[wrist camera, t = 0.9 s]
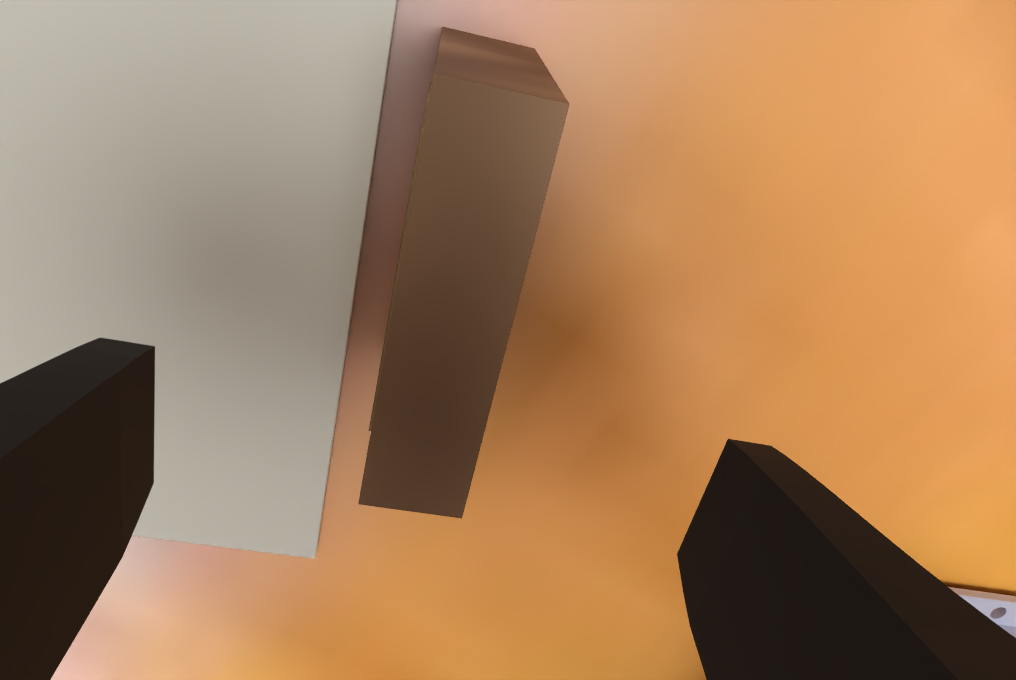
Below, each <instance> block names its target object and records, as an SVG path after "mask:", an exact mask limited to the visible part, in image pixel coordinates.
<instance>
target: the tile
mask: <svg viewBox="0 0 1016 680" xmlns="http://www.w3.org/2000/svg"><path fill="white" fill-rule="evenodd" d="M568 107H569V103H568V101H567V100H566V98H565V97H564V95H563V93H562V92H561V90H560V89H559V87H558V85H557V84H556V82H555V81H554V79H553V77H552V76H551V74H550V73H549V71H548V69H547V68H546V66H545V65H544V63H543V61H542V60H541V58H540V57H539V55H538V53H537V52H536V50H535V49H534V48H529V47H525V46H521V45H517V44H513V43H508V42H504V41H500V40H496V39H492V38H488V37H483V36H479V35H475V34H471V33H467V32H462V31H458V30H454V29H450V28H446V27H443V29H442V34H441V39H440V44H439V49H438V54H437V58H436V63H435V68H434V73H433V79H432V83H430V88H429V92H428V97H427V102H426V107H425V111H424V116H423V121H422V126H421V131H420V137H419V143H418V149H417V154H416V160H415V166H414V172H413V178H412V183H411V189H410V195H409V201H408V207H407V212H406V218H405V224H404V230H403V236H402V241H401V247H400V253H399V259H398V265H397V270H396V276H395V282H394V288H393V294H392V299H391V305H390V311H389V317H388V323H387V328H386V334H385V340H384V346H383V352H382V357H381V363H380V369H379V375H378V381H377V386H376V392H375V398H374V404H373V410H372V415H371V421H370V427H369V431H371V435H370V441H369V446H368V452H367V458H366V464H365V469H364V475H363V481H362V487H361V492H360V498H359V504H361V505H369V506H376V507H383V508H390V509H398V510H405V511H412V512H420V513H427V514H434V515H441V516H449V517H456V518H462V516H463V512H464V508H465V504H466V500H467V497H468V493H469V489H470V485H471V481H472V477H473V473H474V470H475V466H476V462H477V458H478V454H479V450H480V446H481V443H482V439H483V435H484V431H485V427H486V423H487V419H488V416H489V412H490V408H491V404H492V400H493V396H494V392H495V389H496V385H497V381H498V377H499V373H500V369H501V365H502V362H503V358H504V354H505V350H506V346H507V342H508V338H509V335H510V331H511V327H512V323H513V319H514V315H515V311H516V308H517V304H518V300H519V296H520V292H521V288H522V285H523V281H524V277H525V273H526V269H527V265H528V261H529V258H530V254H531V250H532V246H533V242H534V238H535V234H536V231H537V227H538V223H539V219H540V215H541V211H542V207H543V204H544V200H545V196H546V192H547V188H548V184H549V180H550V177H551V173H552V169H553V165H554V161H555V157H556V153H557V150H558V146H559V142H560V138H561V134H562V130H563V126H564V123H565V119H566V115H567V111H568Z"/></svg>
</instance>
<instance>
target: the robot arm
mask: <svg viewBox="0 0 1016 680" xmlns="http://www.w3.org/2000/svg"><path fill="white" fill-rule="evenodd" d="M154 408H155V346H150V345H144V344H138V343H132V342H126V341H120V340H113V339H107V338H101V337H100V338H98V339H95V340H92V341H90V342H87V343H85V344H83V345H80V346H78V347H76V348H74V349H71V350H69V351H67V352H65V353H63V354H61V355H59V356H56V357H54V358H52V359H50V360H48V361H46V362H44V363H42V364H40V365H38V366H36V367H33V368H31V369H29V370H27V371H25V372H23V373H21V374H19V375H17V376H15V377H13V378H11V379H8V380H6V381H4V382H2V383H0V680H50V679H51V678H52V676H53V674H54V672H55V671H56V669H57V667H58V666H59V664H60V662H61V661H62V659H63V657H64V656H65V654H66V652H67V651H68V649H69V647H70V646H71V644H72V642H73V641H74V639H75V637H76V635H77V634H78V632H79V630H80V629H81V627H82V625H83V624H84V622H85V620H86V619H87V617H88V615H89V614H90V612H91V610H92V608H93V607H94V605H95V603H96V602H97V600H98V598H99V596H100V595H101V593H102V591H103V590H104V588H105V586H106V585H107V583H108V581H109V579H110V578H111V576H112V574H113V572H114V571H115V569H116V567H117V565H118V564H119V562H120V560H121V558H122V557H123V554H124V552H125V550H126V548H127V545H128V543H129V541H130V538H131V536H132V534H133V532H134V529H135V527H136V525H137V523H138V520H139V518H140V515H141V513H142V510H143V508H144V506H145V503H146V501H147V498H148V496H149V493H150V491H151V489H152V486H153V484H154ZM677 556H678V562H679V568H680V574H681V580H682V587H683V593H684V598H685V603H686V608H687V613H688V618H689V623H690V627H691V631H692V634H693V637H694V640H695V644H696V647H697V650H698V653H699V656H700V660H701V663H702V666H703V669H704V672H705V675H706V678H707V680H1016V596H1011V595H1003V594H996V593H989V592H982V591H974V590H967V589H960V588H953V587H947V586H946V585H945V584H944V583H942V582H941V581H940V580H939V579H937V578H936V577H935V576H934V575H932V574H931V573H930V572H928V571H927V570H926V569H925V568H923V567H922V566H921V565H920V564H918V563H917V562H916V561H915V560H914V559H912V558H911V557H910V556H909V555H907V554H906V553H905V552H904V551H902V550H901V549H900V548H899V547H898V546H896V545H895V544H894V543H893V542H891V541H890V540H889V539H888V538H887V537H885V536H884V535H883V534H882V533H881V532H879V531H878V530H877V529H876V528H874V527H873V526H872V525H871V524H870V523H868V522H867V521H866V520H865V519H864V518H862V517H861V516H860V515H859V514H858V513H856V512H855V511H854V510H853V509H852V508H850V507H849V506H848V505H847V504H846V503H844V502H843V501H842V500H841V499H840V498H838V497H837V496H836V495H835V494H834V493H832V492H831V491H830V490H829V489H828V488H826V487H825V486H824V485H823V484H821V483H820V482H819V481H818V480H816V479H815V478H814V477H813V476H811V475H810V474H809V473H808V472H806V471H805V470H804V469H803V468H801V467H800V466H799V465H797V464H796V463H795V462H793V461H792V460H791V459H789V458H788V457H787V456H785V455H784V454H782V453H781V452H779V451H778V450H776V449H775V448H773V447H772V446H769V445H763V444H756V443H750V442H744V441H738V440H732V439H728V440H727V442H726V445H725V447H724V449H723V451H722V454H721V456H720V458H719V460H718V463H717V465H716V467H715V469H714V472H713V474H712V476H711V479H710V481H709V483H708V485H707V488H706V490H705V492H704V494H703V497H702V499H701V501H700V503H699V506H698V508H697V510H696V512H695V515H694V517H693V519H692V522H691V524H690V526H689V528H688V531H687V533H686V535H685V537H684V540H683V542H682V544H681V546H680V549H679V551H678V553H677Z"/></svg>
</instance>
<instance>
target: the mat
mask: <svg viewBox="0 0 1016 680" xmlns="http://www.w3.org/2000/svg"><path fill="white" fill-rule="evenodd" d="M397 3H398V0H0V383H2V382H4V381H6V380H8V379H11V378H13V377H15V376H17V375H19V374H21V373H23V372H25V371H27V370H29V369H31V368H33V367H36V366H38V365H40V364H42V363H44V362H46V361H48V360H50V359H52V358H54V357H56V356H59V355H61V354H63V353H65V352H67V351H69V350H71V349H74V348H76V347H78V346H80V345H83V344H85V343H87V342H90V341H92V340H95V339H98V338H100V337H101V338H107V339H113V340H120V341H126V342H132V343H138V344H144V345H150V346H155V408H154V484H153V486H152V489H151V491H150V493H149V496H148V498H147V501H146V503H145V506H144V508H143V510H142V513H141V515H140V518H139V520H138V523H137V525H136V527H135V529H134V532H133V534H132V536H138V537H146V538H154V539H162V540H170V541H178V542H186V543H194V544H202V545H210V546H218V547H226V548H234V549H242V550H250V551H258V552H266V553H273V554H281V555H289V556H297V557H305V558H313V559H315V556H316V552H317V547H318V541H319V534H320V527H321V521H322V514H323V507H324V500H325V493H326V486H327V480H328V473H329V466H330V459H331V452H332V446H333V439H334V432H335V425H336V418H337V412H338V405H339V398H340V391H341V384H342V377H343V371H344V364H345V357H346V350H347V343H348V337H349V330H350V323H351V316H352V309H353V303H354V296H355V289H356V282H357V275H358V268H359V262H360V255H361V248H362V241H363V234H364V228H365V221H366V214H367V207H368V200H369V194H370V187H371V180H372V173H373V166H374V159H375V153H376V146H377V139H378V132H379V125H380V119H381V112H382V105H383V98H384V91H385V84H386V78H387V71H388V64H389V57H390V50H391V44H392V37H393V30H394V23H395V16H396V10H397Z"/></svg>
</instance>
